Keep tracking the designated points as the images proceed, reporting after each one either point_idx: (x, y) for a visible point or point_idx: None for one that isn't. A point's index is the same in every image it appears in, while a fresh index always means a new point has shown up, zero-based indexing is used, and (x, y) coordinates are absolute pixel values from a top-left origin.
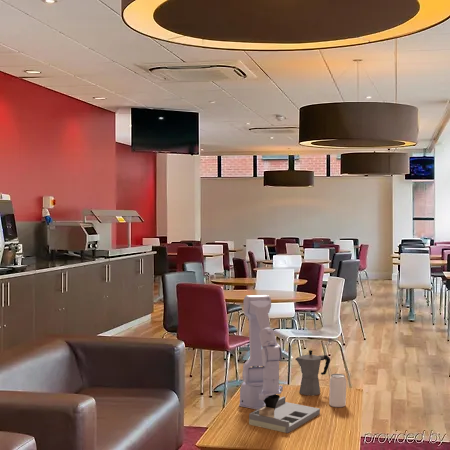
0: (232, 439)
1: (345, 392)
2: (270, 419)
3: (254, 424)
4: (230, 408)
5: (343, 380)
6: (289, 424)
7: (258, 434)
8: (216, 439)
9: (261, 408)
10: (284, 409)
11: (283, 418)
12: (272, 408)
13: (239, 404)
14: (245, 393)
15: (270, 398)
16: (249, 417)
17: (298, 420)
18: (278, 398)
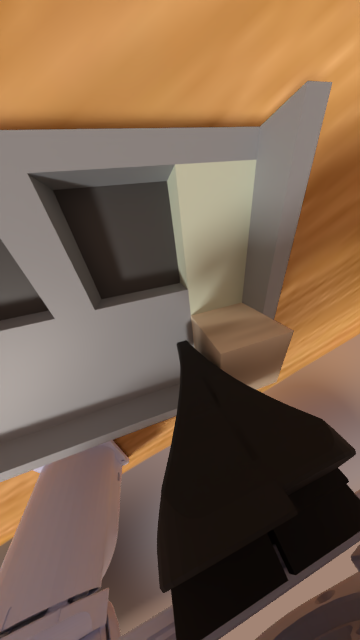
0: (352, 297)
1: None
2: (275, 288)
3: None
4: (158, 448)
5: None
6: (213, 165)
7: (303, 271)
8: (353, 322)
9: (258, 387)
10: (8, 395)
11: (127, 301)
12: (226, 361)
13: (125, 463)
14: (110, 517)
15: (338, 466)
16: None
17: (65, 149)
18: (199, 475)
